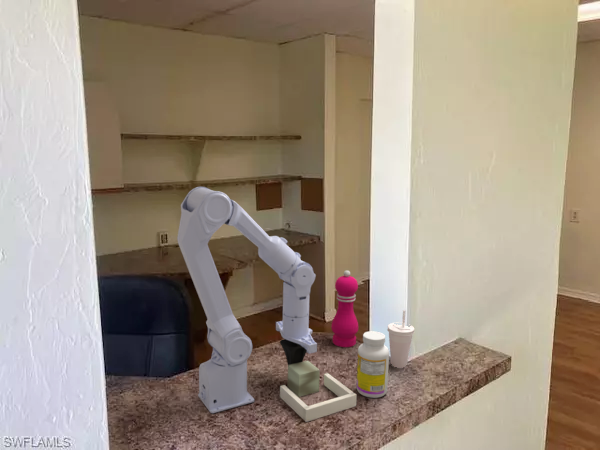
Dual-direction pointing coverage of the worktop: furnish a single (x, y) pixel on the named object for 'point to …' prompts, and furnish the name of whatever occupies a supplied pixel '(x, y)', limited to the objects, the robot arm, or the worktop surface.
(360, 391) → the supplement bottle
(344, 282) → the pepper mill
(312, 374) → the block
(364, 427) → the worktop surface
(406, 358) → the smoothie
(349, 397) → the block
